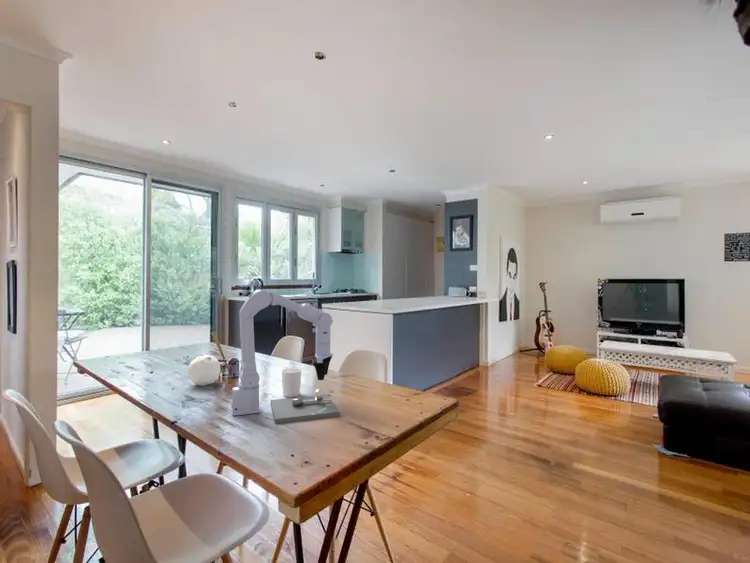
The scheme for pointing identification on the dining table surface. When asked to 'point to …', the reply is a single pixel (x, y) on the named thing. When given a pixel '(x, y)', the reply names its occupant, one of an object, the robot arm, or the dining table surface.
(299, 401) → the peg lever
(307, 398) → the dial board
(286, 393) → the white cup
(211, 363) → the geodesic sphere
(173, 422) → the dining table surface
